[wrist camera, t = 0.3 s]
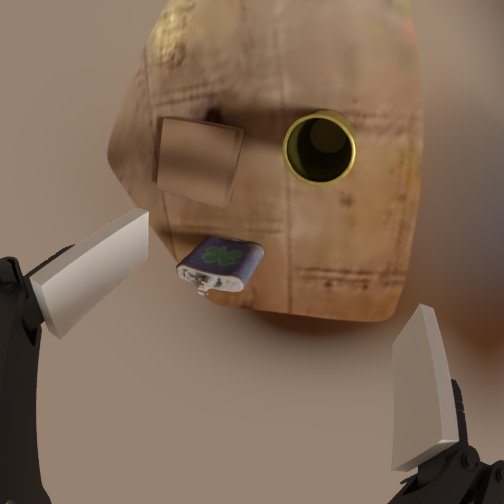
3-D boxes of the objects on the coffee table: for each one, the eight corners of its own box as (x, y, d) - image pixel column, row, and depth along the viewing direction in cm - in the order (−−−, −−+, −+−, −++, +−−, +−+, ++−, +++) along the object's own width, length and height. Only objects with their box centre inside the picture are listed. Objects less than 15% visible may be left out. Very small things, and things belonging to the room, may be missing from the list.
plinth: (175, 116, 34) (163, 118, 32) (244, 129, 33) (236, 131, 30) (168, 183, 40) (156, 189, 37) (230, 201, 38) (222, 208, 36)
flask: (265, 243, 40) (238, 287, 31) (264, 261, 41) (238, 308, 32) (204, 232, 42) (165, 269, 33) (205, 249, 43) (168, 289, 34)
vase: (300, 155, 33) (272, 185, 21) (305, 106, 29) (278, 102, 18) (350, 164, 31) (355, 200, 19) (357, 114, 28) (368, 115, 16)
